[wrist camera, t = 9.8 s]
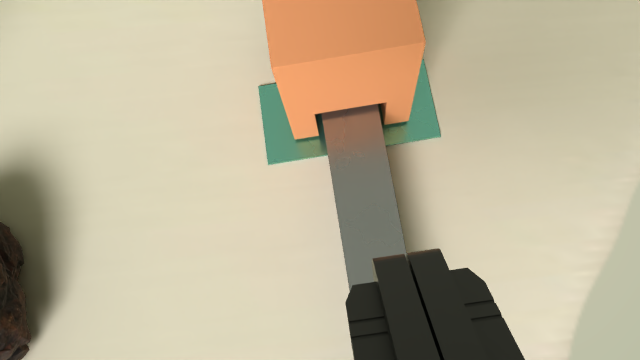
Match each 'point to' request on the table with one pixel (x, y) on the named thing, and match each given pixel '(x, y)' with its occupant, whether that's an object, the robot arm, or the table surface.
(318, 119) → the bar
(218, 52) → the table surface
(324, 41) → the sleeve
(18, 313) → the dark brown rough lump
